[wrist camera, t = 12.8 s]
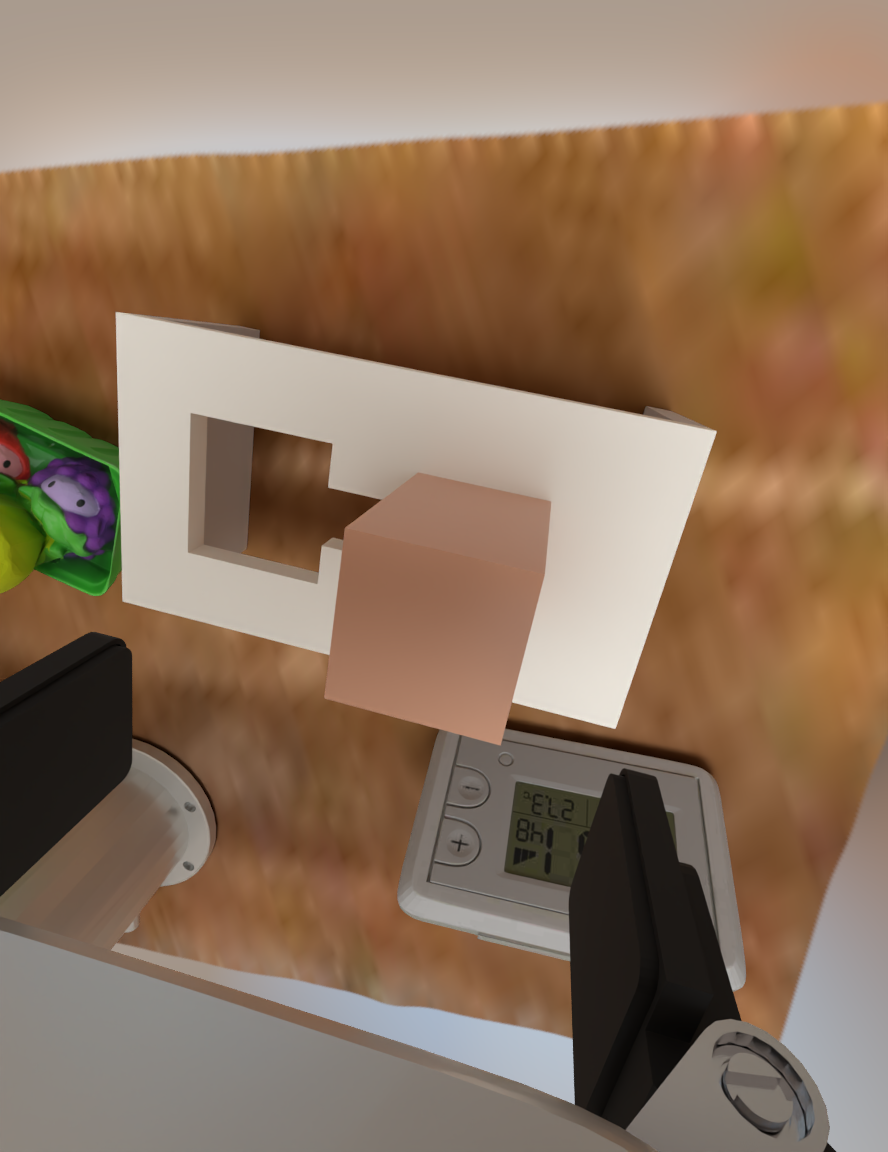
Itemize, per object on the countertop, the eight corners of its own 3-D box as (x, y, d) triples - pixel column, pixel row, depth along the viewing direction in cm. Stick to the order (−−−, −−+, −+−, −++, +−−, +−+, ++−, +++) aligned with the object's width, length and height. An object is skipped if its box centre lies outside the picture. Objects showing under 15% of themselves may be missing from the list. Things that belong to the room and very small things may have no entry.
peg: (525, 594, 26) (500, 745, 16) (416, 568, 27) (324, 698, 16) (552, 484, 24) (544, 574, 14) (435, 459, 25) (344, 528, 15)
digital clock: (730, 767, 34) (799, 934, 24) (662, 877, 37) (698, 1063, 27) (461, 668, 35) (420, 788, 25) (419, 783, 38) (368, 930, 28)
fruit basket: (189, 456, 34) (20, 499, 23) (158, 588, 37) (-2, 677, 26) (10, 373, 34) (-236, 378, 23) (-4, 511, 37) (-225, 569, 27)
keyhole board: (602, 634, 32) (615, 729, 24) (227, 544, 35) (122, 601, 27) (671, 410, 28) (716, 431, 20) (238, 325, 30) (115, 311, 22)
